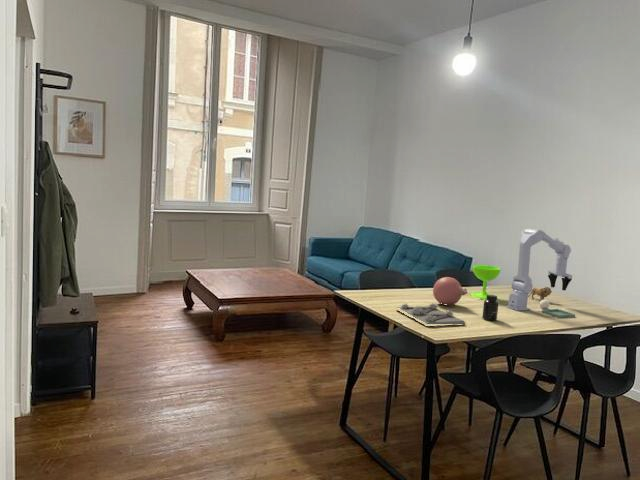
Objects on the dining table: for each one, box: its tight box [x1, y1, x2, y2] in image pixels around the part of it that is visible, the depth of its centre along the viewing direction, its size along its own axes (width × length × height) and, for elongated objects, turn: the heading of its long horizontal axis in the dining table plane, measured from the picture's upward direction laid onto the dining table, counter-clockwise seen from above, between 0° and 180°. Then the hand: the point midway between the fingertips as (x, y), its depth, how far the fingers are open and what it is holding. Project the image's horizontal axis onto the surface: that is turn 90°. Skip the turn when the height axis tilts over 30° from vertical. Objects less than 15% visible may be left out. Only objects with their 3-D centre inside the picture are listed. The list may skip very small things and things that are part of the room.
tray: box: [541, 308, 576, 319], centre depth 264 cm, size 11×11×1 cm
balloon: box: [432, 276, 468, 306], centre depth 269 cm, size 15×20×15 cm
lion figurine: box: [528, 286, 553, 301], centre depth 297 cm, size 15×5×9 cm, turn 33°
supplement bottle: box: [482, 294, 499, 322], centre depth 245 cm, size 7×7×12 cm
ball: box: [539, 299, 550, 310], centre depth 276 cm, size 5×5×5 cm
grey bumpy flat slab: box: [397, 302, 466, 325], centre depth 242 cm, size 30×22×7 cm
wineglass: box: [470, 264, 502, 301], centre depth 296 cm, size 16×16×18 cm
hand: (558, 288), depth 283 cm, fingers open, 7 cm apart
